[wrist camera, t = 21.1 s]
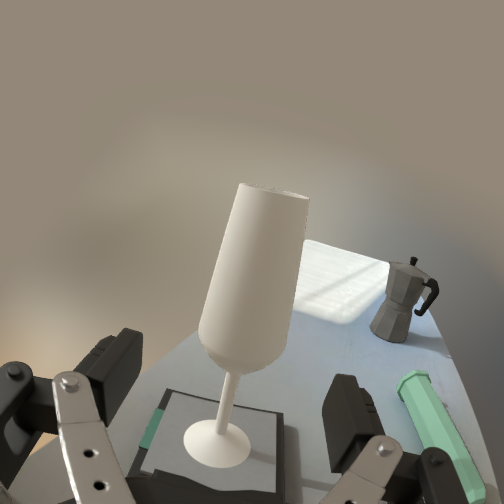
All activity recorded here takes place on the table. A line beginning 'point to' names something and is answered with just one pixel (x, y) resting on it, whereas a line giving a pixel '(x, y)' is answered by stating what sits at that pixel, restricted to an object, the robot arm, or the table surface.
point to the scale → (222, 479)
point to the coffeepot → (402, 301)
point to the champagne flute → (248, 307)
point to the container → (439, 430)
